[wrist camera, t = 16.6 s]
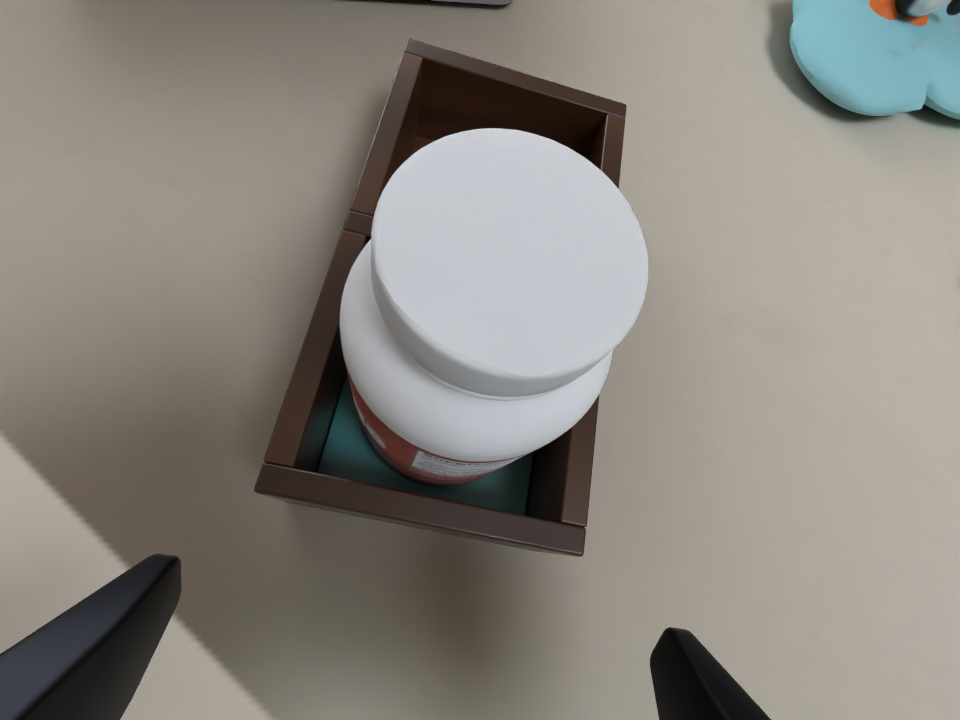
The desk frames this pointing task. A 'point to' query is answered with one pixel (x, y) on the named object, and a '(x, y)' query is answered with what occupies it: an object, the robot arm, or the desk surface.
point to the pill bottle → (487, 302)
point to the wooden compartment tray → (321, 367)
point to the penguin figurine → (880, 53)
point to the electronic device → (481, 1)
